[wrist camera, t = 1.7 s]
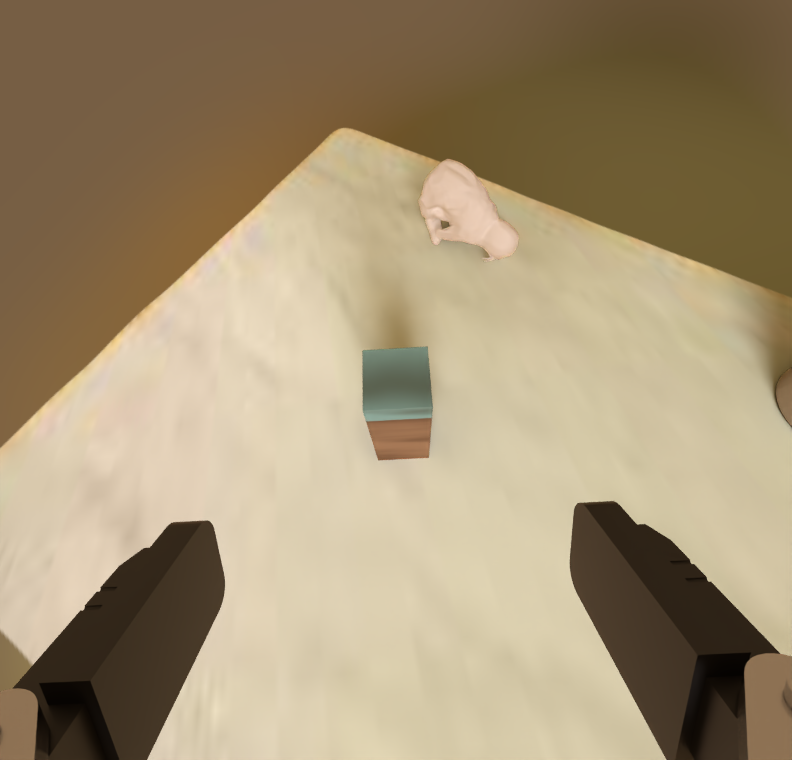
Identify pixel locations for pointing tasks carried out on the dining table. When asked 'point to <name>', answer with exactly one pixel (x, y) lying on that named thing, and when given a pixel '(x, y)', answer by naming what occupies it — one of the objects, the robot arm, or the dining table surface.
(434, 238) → the pink animal figurine
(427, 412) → the green and brown block
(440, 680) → the dining table surface
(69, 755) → the robot arm
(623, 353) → the dining table surface
